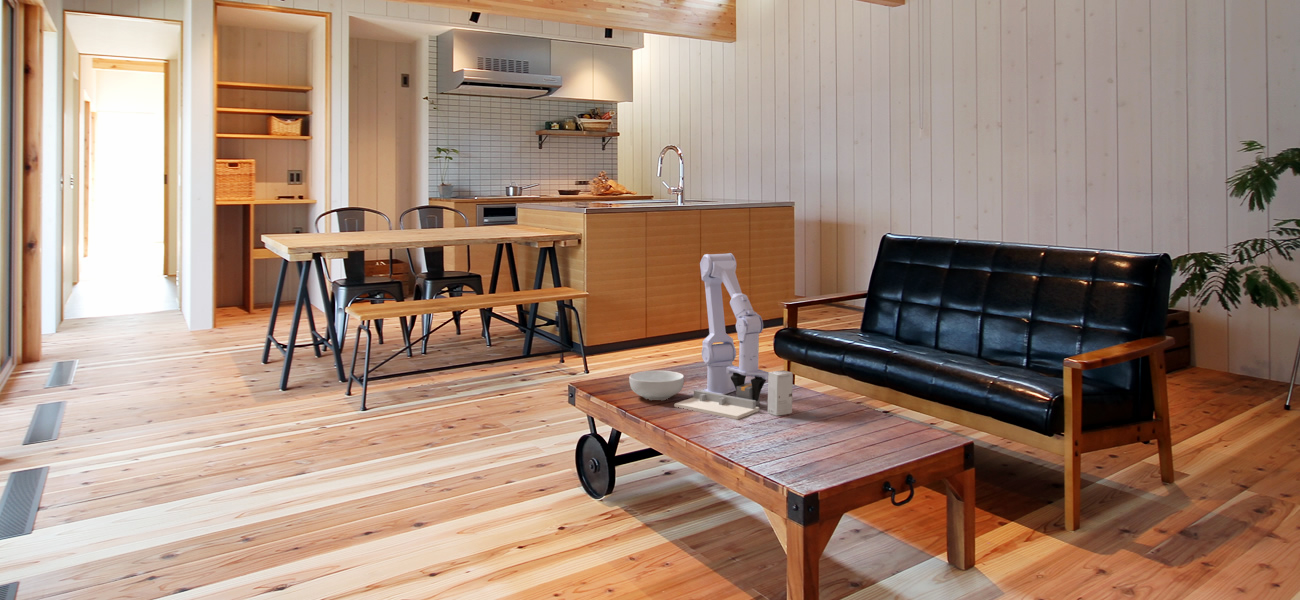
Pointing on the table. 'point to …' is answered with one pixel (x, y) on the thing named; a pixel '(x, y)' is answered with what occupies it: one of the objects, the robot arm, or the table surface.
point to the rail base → (719, 405)
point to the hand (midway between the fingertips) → (748, 399)
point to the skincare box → (780, 392)
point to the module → (746, 392)
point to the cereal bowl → (656, 384)
